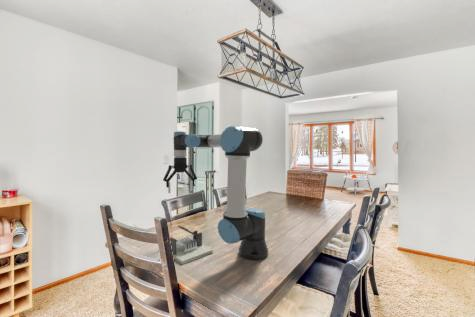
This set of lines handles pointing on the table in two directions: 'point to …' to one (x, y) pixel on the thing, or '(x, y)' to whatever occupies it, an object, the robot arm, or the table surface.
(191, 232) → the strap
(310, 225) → the table surface
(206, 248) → the board
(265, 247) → the robot arm
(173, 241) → the mounts
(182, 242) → the heatsink
